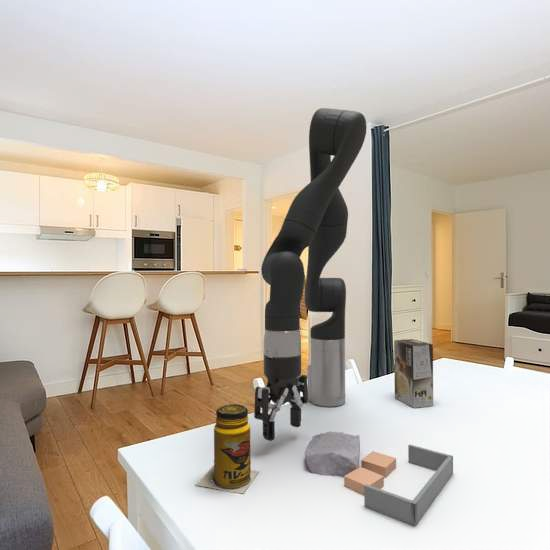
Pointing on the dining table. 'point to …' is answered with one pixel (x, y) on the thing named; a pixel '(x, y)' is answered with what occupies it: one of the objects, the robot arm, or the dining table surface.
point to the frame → (418, 506)
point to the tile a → (363, 479)
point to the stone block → (333, 454)
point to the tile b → (379, 463)
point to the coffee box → (413, 372)
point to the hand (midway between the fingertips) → (282, 432)
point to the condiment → (230, 451)
